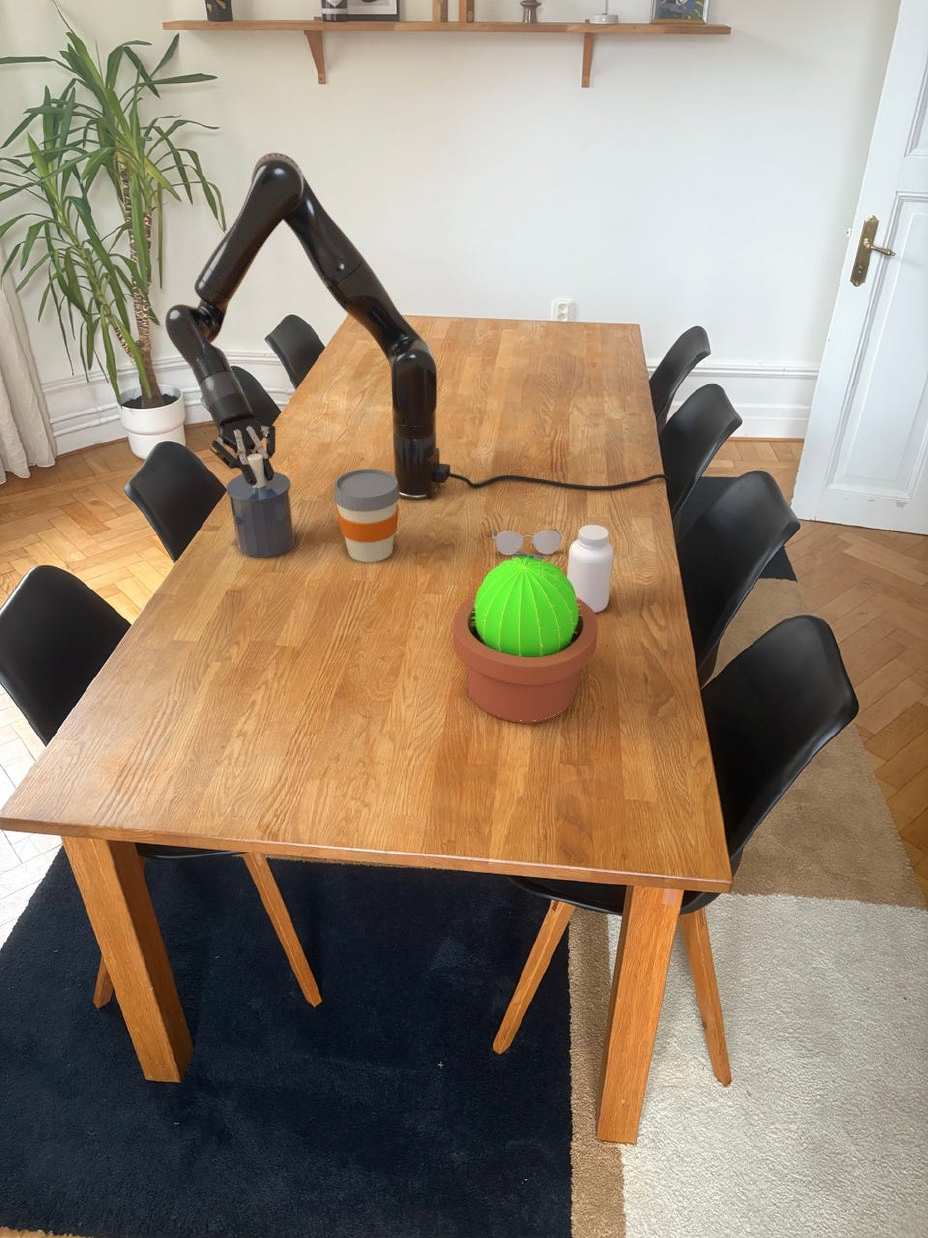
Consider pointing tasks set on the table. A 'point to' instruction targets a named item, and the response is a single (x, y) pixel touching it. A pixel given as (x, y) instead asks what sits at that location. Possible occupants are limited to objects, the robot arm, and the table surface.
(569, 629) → the potted cactus
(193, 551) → the table surface
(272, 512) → the blue handleless cup
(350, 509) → the reusable coffee cup
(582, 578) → the pill bottle
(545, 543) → the sunglasses
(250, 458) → the lid
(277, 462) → the table surface
